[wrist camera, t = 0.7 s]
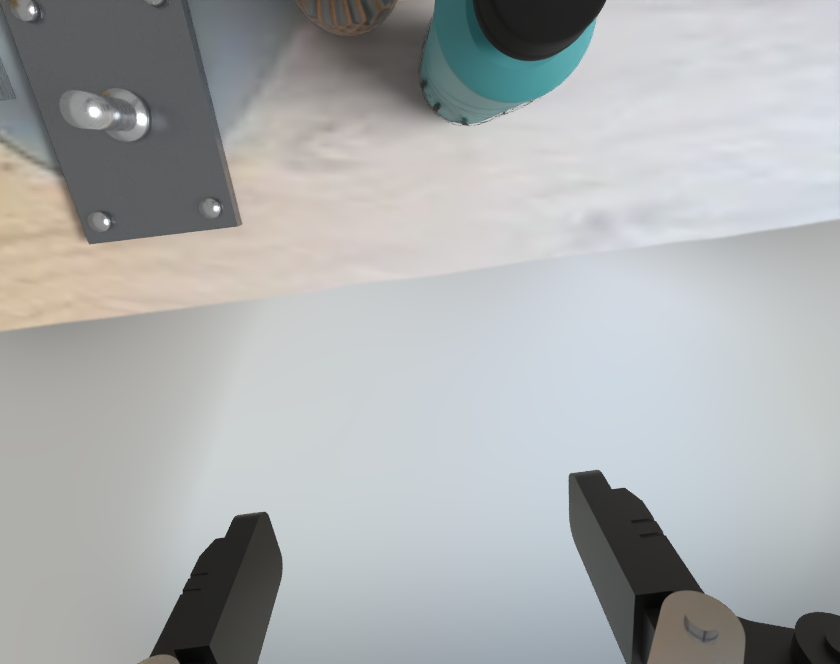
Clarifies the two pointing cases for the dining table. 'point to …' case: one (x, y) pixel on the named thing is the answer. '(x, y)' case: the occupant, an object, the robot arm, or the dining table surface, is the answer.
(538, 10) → the beverage bottle
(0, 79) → the end link
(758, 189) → the dining table surface
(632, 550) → the robot arm
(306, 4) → the vase
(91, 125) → the toggle switch
